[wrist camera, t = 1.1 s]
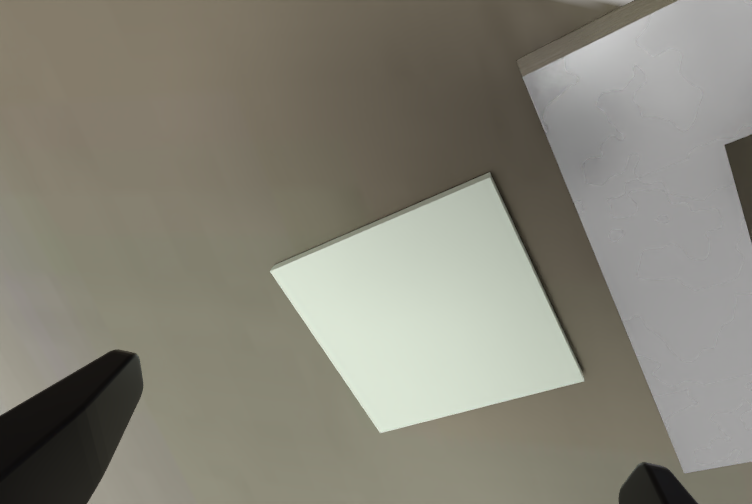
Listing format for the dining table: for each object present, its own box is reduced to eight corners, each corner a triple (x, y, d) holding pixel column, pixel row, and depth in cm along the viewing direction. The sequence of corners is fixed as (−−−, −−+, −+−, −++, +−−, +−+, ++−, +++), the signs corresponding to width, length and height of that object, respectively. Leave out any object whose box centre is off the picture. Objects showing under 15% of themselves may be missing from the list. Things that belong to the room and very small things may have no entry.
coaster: (582, 372, 24) (584, 381, 24) (381, 424, 29) (380, 432, 28) (489, 172, 21) (489, 177, 20) (274, 265, 25) (269, 271, 24)
